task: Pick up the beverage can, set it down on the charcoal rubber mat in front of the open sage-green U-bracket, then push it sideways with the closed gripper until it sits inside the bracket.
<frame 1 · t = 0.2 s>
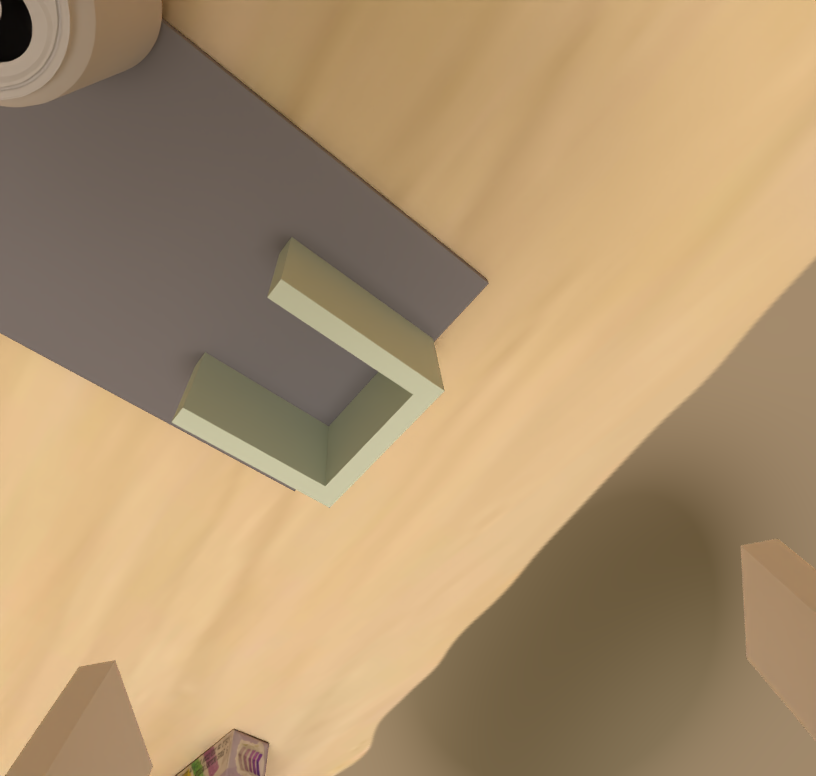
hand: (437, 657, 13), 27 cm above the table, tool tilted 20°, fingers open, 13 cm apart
mount: (190, 266, 36), on the table
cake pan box: (202, 769, 65), on the table
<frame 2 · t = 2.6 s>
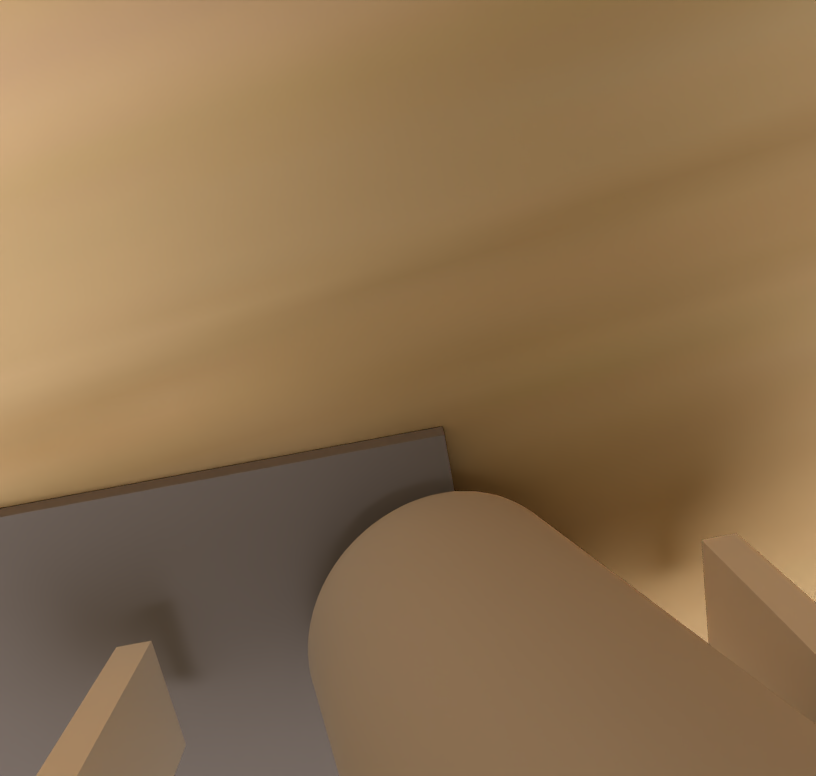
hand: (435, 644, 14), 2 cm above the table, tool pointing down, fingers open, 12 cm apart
beverage can: (432, 602, 15), point 1 cm above the table, touching gripper, mount
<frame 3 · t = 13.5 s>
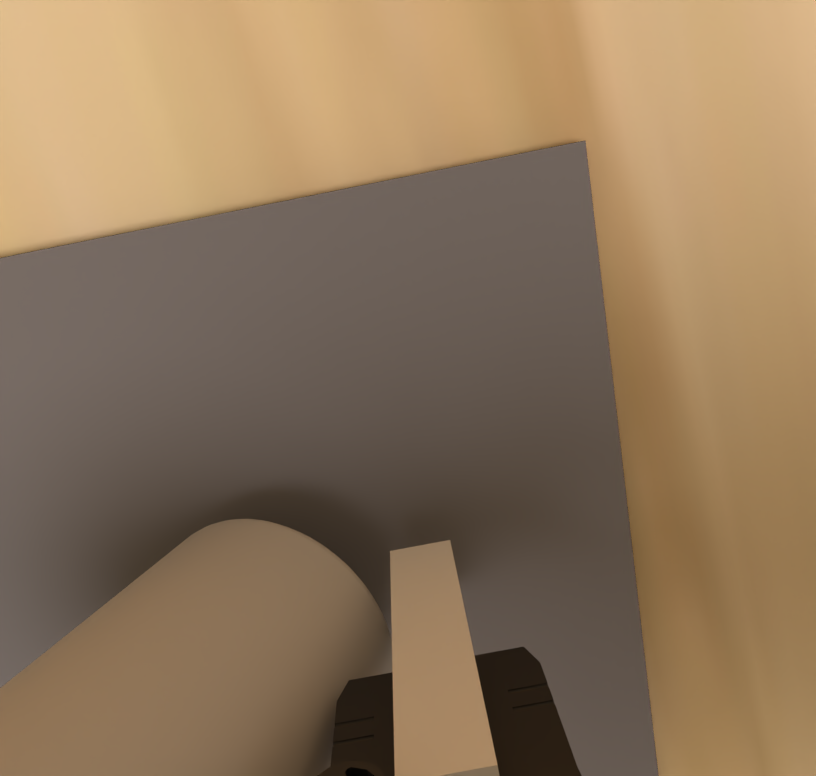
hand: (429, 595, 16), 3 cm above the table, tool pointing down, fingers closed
mount: (137, 607, 18), on the table
beverage can: (293, 610, 17), point 2 cm above the table, touching gripper
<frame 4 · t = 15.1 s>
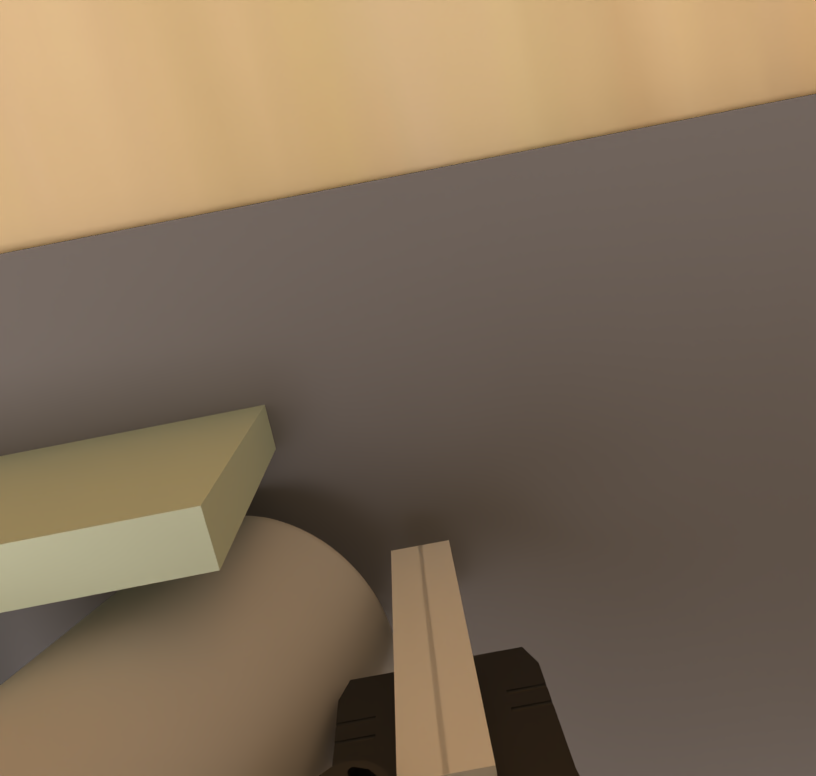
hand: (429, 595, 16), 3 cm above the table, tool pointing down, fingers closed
mount: (430, 549, 18), on the table
beverage can: (294, 608, 17), point 2 cm above the table, touching gripper, hand
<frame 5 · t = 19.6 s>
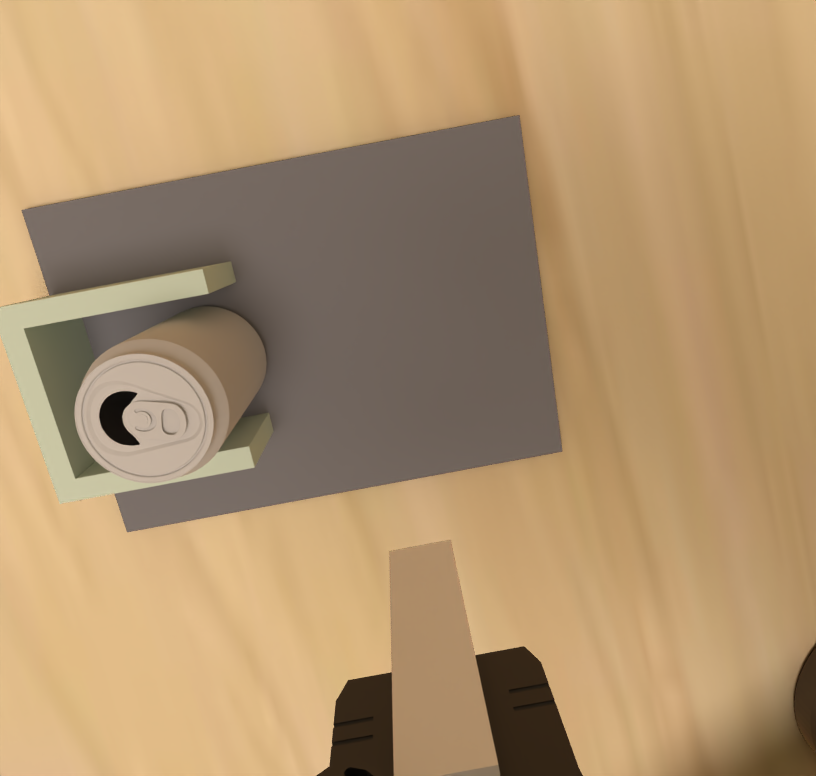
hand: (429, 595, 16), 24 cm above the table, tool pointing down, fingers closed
mount: (310, 336, 38), on the table
beverage can: (215, 357, 38), resting on mount
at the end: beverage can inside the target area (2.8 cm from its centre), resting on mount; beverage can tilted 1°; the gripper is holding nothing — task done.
